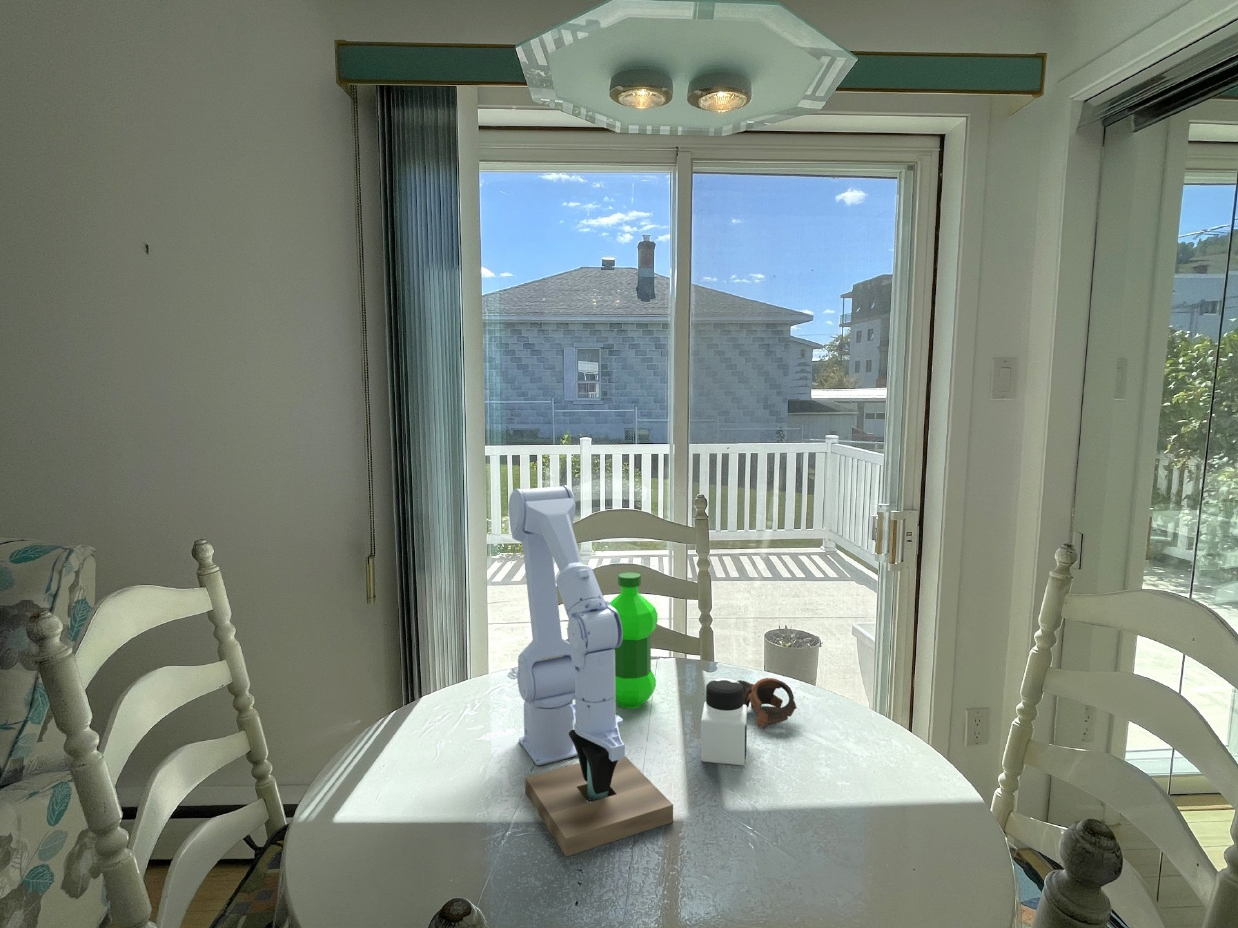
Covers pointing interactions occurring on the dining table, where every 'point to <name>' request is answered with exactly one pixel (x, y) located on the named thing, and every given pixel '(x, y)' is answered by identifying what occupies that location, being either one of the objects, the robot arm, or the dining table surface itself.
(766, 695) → the brown jagged ring
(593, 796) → the peg
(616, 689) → the plastic bottle
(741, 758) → the medicine bottle
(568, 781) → the socket board
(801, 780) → the dining table surface
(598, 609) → the robot arm
